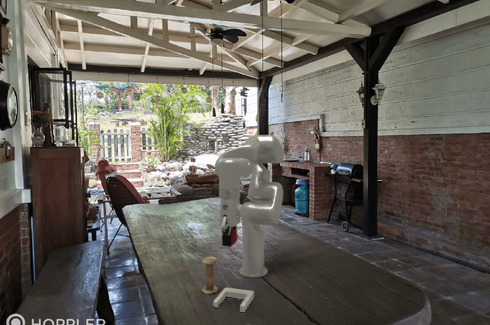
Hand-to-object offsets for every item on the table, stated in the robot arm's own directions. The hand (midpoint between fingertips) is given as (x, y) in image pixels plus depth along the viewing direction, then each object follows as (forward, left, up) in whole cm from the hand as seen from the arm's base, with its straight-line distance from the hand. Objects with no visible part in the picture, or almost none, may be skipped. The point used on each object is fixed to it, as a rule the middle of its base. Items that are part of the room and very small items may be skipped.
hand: (229, 242), depth 125 cm
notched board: (0, +2, -22) cm, 22 cm away
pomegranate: (0, 0, -2) cm, 2 cm away
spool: (-6, -11, -22) cm, 25 cm away
